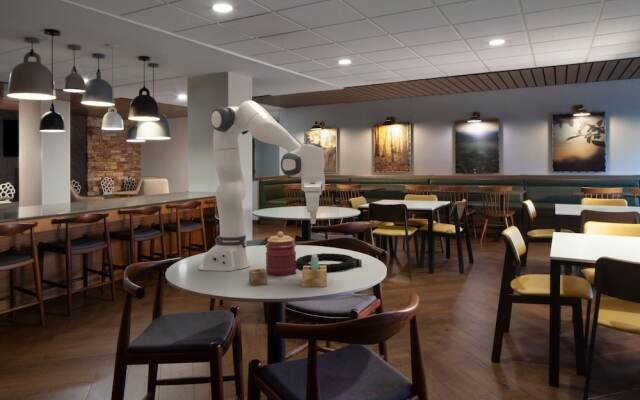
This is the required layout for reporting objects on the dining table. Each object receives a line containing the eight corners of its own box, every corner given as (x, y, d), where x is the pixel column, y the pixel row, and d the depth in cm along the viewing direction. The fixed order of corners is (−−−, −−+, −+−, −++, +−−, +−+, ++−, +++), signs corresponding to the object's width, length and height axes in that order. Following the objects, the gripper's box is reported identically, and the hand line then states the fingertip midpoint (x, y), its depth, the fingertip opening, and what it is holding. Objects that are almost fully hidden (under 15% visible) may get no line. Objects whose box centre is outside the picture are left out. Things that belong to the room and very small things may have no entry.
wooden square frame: (302, 286, 172) (302, 271, 172) (303, 280, 181) (303, 265, 181) (326, 286, 172) (326, 270, 172) (326, 280, 181) (326, 265, 181)
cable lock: (303, 251, 224) (364, 253, 218) (303, 259, 224) (364, 261, 218) (287, 264, 197) (357, 265, 191) (288, 272, 197) (357, 274, 191)
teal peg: (311, 284, 175) (310, 255, 175) (311, 282, 178) (311, 254, 177) (318, 284, 175) (318, 255, 174) (318, 282, 178) (318, 254, 177)
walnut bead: (251, 286, 175) (251, 273, 174) (249, 282, 180) (248, 269, 180) (267, 284, 176) (267, 271, 176) (264, 280, 182) (263, 268, 182)
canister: (292, 276, 189) (291, 233, 187) (262, 275, 191) (260, 233, 189) (299, 269, 201) (298, 229, 200) (270, 268, 204) (269, 229, 202)
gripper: (306, 184, 184) (306, 218, 185) (303, 187, 164) (303, 225, 165) (322, 184, 184) (322, 218, 185) (320, 186, 164) (321, 225, 165)
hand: (313, 222), depth 175 cm, fingers open, 8 cm apart
